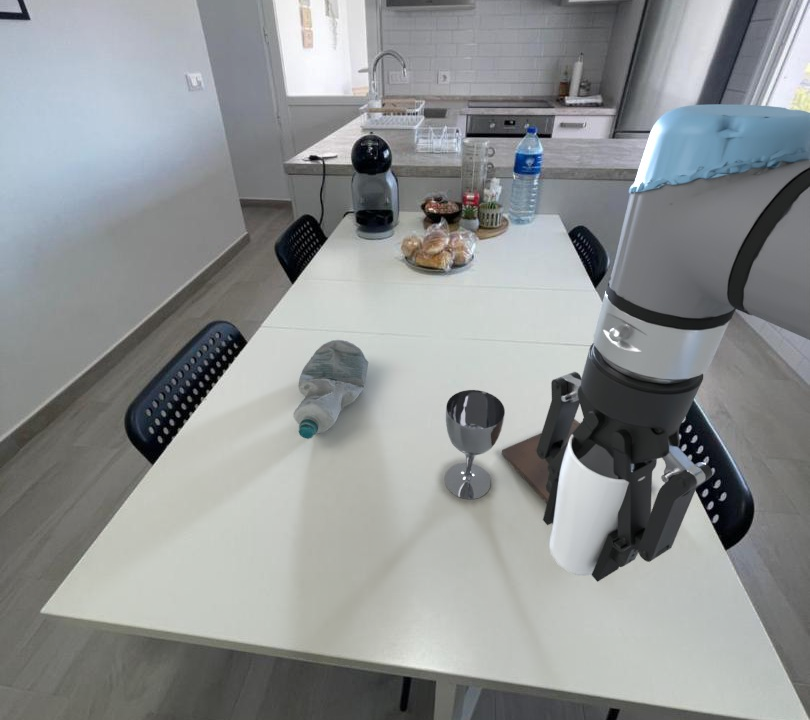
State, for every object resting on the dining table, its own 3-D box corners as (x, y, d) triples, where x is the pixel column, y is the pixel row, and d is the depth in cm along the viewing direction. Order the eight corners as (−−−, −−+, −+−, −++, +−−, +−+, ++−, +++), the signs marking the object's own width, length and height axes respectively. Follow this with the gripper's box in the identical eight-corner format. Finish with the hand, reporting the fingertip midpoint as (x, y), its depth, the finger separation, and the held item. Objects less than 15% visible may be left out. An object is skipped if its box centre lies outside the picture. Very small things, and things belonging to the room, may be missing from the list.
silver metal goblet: (503, 479, 70) (516, 407, 61) (472, 511, 65) (482, 438, 56) (462, 453, 74) (469, 382, 66) (431, 481, 70) (434, 409, 61)
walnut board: (649, 487, 68) (651, 483, 68) (571, 530, 62) (572, 525, 62) (573, 422, 80) (574, 418, 79) (501, 453, 74) (501, 449, 74)
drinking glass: (571, 597, 42) (609, 494, 34) (527, 539, 48) (550, 437, 39) (624, 568, 45) (672, 465, 36) (577, 516, 50) (609, 415, 41)
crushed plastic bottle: (316, 359, 96) (266, 441, 76) (315, 331, 92) (262, 410, 72) (376, 370, 95) (341, 456, 74) (377, 341, 91) (341, 424, 70)
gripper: (518, 310, 37) (491, 489, 51) (751, 463, 23) (630, 656, 37) (585, 290, 40) (543, 465, 53) (828, 418, 26) (689, 612, 39)
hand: (578, 543), depth 45 cm, fingers closed on drinking glass, 6 cm apart
